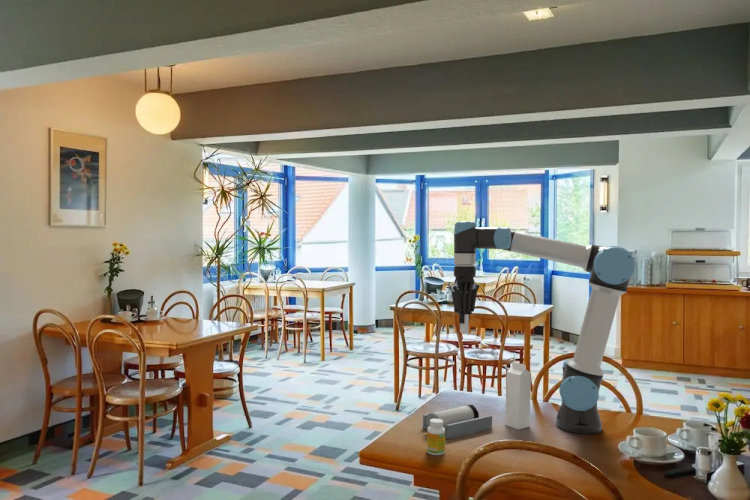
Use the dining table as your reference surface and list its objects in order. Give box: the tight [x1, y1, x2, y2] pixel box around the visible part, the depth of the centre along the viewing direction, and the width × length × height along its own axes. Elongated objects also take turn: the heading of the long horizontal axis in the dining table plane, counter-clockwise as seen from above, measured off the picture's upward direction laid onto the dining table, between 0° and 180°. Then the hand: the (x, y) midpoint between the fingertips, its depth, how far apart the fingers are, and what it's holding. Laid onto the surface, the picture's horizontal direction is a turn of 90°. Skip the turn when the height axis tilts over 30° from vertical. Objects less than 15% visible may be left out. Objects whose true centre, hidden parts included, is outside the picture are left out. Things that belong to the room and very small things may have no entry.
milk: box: [504, 361, 532, 430], centre depth 201 cm, size 6×6×22 cm
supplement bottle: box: [426, 419, 446, 456], centre depth 174 cm, size 5×5×10 cm
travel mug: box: [426, 404, 480, 430], centre depth 196 cm, size 6×7×20 cm
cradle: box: [422, 413, 493, 440], centre depth 197 cm, size 13×20×4 cm, turn 125°
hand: (464, 332), depth 202 cm, fingers closed
